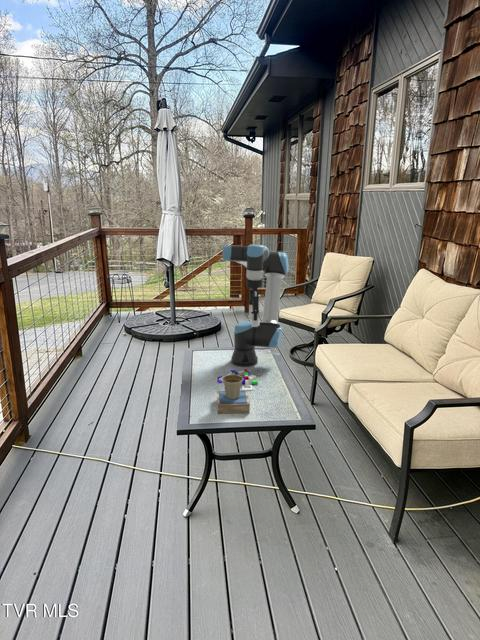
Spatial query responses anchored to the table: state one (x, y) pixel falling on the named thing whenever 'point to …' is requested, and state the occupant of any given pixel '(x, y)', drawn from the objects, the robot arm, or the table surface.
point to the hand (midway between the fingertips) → (253, 322)
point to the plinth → (233, 403)
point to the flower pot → (232, 385)
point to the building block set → (246, 379)
